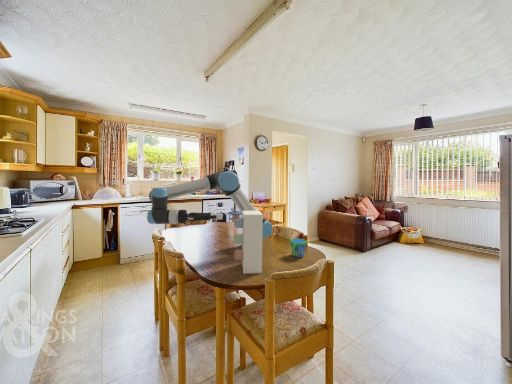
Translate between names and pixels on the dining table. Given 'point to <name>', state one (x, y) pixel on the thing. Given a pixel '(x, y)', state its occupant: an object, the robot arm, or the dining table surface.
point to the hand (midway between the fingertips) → (222, 216)
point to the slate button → (238, 223)
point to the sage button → (238, 239)
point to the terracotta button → (238, 254)
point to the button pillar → (252, 241)
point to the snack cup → (298, 247)
